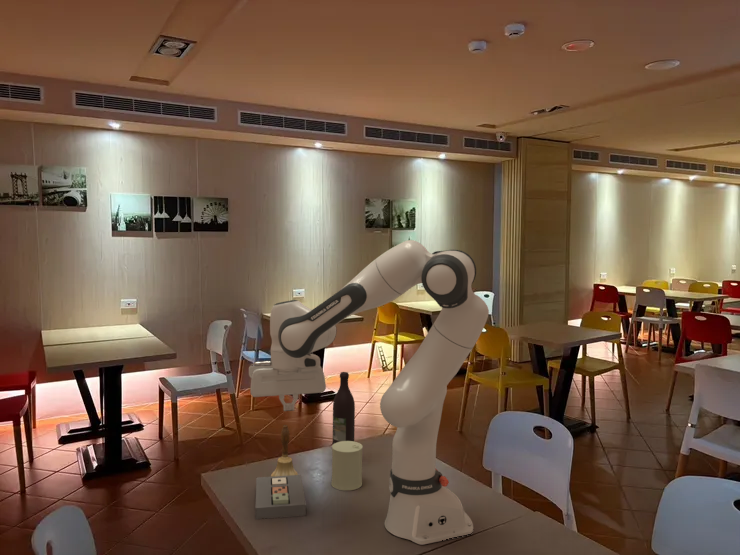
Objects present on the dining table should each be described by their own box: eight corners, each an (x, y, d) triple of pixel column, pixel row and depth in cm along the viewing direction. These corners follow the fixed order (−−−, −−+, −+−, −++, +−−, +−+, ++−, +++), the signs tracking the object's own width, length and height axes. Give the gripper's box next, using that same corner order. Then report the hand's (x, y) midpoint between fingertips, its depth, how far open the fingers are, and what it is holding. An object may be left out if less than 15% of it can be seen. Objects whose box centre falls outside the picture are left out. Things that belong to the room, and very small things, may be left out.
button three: (286, 494, 160) (286, 485, 160) (287, 501, 156) (287, 491, 156) (272, 495, 159) (272, 486, 159) (272, 502, 155) (272, 492, 155)
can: (358, 492, 164) (359, 451, 163) (327, 488, 165) (328, 448, 165) (365, 479, 173) (365, 440, 172) (335, 476, 174) (336, 438, 174)
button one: (285, 485, 166) (285, 476, 166) (286, 491, 162) (286, 482, 162) (272, 486, 165) (272, 477, 165) (272, 492, 161) (272, 483, 161)
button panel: (301, 484, 168) (301, 474, 168) (305, 515, 149) (305, 504, 149) (256, 487, 166) (256, 477, 165) (255, 519, 147) (255, 508, 147)
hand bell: (303, 474, 175) (304, 424, 174) (286, 484, 168) (286, 431, 167) (283, 468, 180) (283, 419, 178) (265, 477, 173) (265, 426, 171)
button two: (287, 501, 154) (287, 492, 154) (288, 508, 150) (288, 498, 150) (272, 502, 153) (272, 493, 153) (273, 509, 149) (273, 499, 149)
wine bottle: (330, 460, 187) (331, 370, 184) (351, 458, 188) (352, 369, 186) (334, 469, 180) (335, 375, 178) (356, 467, 181) (357, 374, 179)
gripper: (247, 364, 148) (249, 416, 149) (325, 360, 152) (327, 410, 153) (248, 359, 155) (250, 409, 155) (323, 355, 158) (324, 404, 159)
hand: (289, 410), depth 154 cm, fingers closed
